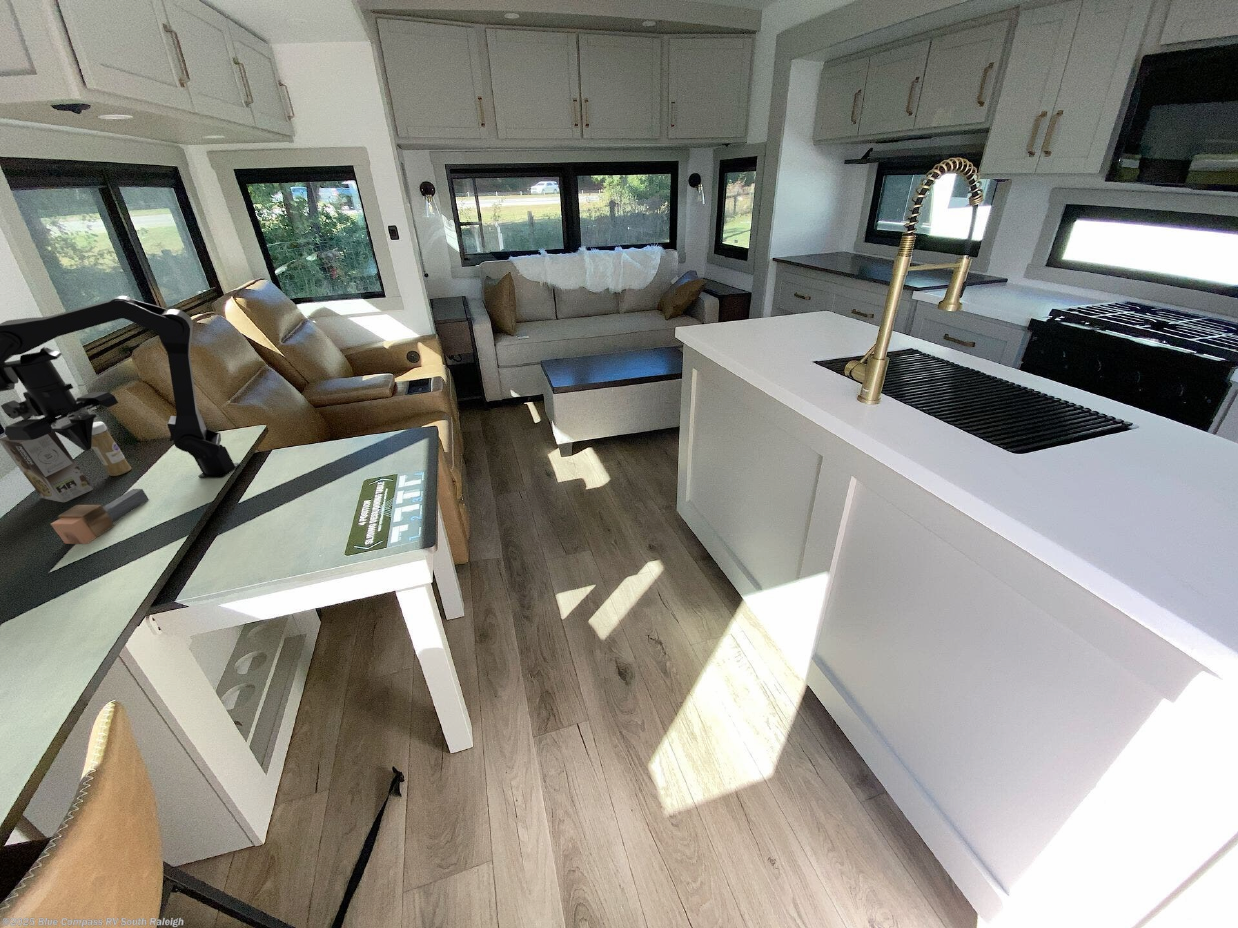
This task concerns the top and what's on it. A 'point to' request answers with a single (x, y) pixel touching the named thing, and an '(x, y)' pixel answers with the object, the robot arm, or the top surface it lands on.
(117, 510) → the rail
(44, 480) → the coffee box
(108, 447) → the sprinkles bottle
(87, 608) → the top surface
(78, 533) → the pink notched end block
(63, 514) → the block
